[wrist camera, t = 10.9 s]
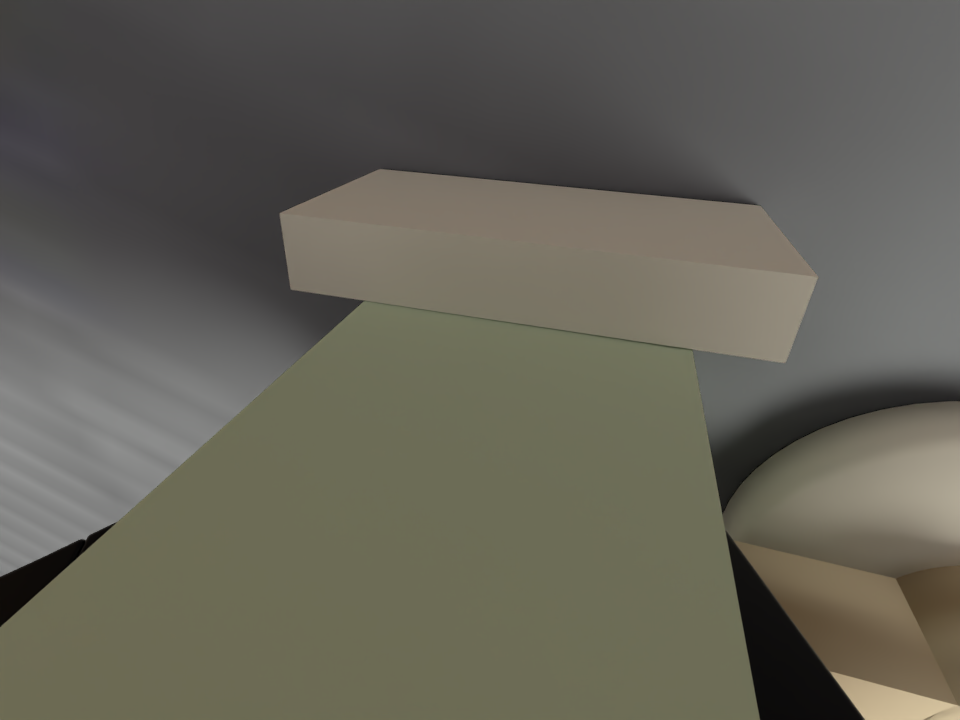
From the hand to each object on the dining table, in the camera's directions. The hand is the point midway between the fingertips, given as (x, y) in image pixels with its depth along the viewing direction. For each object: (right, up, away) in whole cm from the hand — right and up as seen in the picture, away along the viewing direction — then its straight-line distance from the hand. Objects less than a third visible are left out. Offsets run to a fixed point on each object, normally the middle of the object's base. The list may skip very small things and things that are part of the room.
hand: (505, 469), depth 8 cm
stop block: (+1, +2, +2) cm, 3 cm away
